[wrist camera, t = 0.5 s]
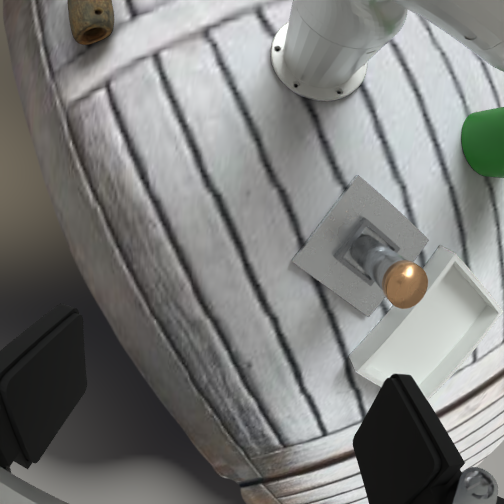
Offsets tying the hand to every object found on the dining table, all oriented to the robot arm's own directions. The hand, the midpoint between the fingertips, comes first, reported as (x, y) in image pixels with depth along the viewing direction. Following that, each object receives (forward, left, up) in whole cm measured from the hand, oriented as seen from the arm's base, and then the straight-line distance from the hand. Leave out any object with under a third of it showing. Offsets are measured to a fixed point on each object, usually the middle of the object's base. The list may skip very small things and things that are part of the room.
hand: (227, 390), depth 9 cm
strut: (-5, +14, -32) cm, 36 cm away
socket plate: (-5, +14, -33) cm, 37 cm away
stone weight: (-13, -39, -34) cm, 53 cm away
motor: (-30, +21, -33) cm, 50 cm away
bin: (-2, +32, -33) cm, 46 cm away
